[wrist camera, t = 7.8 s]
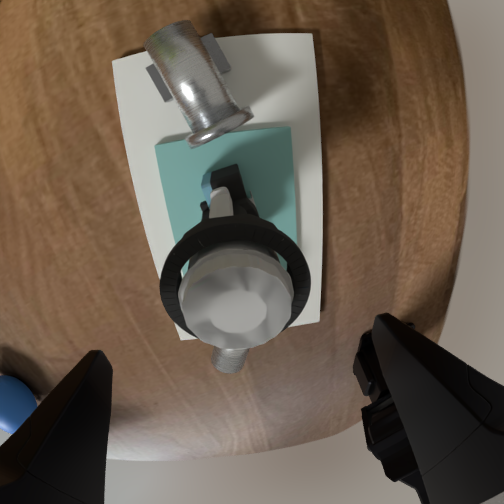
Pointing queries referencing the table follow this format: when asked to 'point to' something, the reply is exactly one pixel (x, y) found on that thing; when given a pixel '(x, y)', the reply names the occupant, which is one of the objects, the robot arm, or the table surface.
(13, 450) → the robot arm
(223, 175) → the push button
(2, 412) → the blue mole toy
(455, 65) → the table surface
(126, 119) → the white rectangular board
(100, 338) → the table surface
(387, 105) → the table surface
